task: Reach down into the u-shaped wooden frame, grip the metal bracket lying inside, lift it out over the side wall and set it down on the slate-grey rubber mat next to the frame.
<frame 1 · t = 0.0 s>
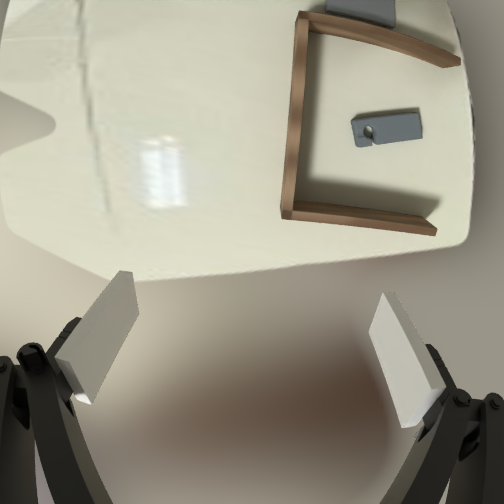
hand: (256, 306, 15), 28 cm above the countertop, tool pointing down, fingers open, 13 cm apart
bracket: (384, 128, 36), on the countertop
u-shaped wooden frame: (370, 124, 35), on the countertop
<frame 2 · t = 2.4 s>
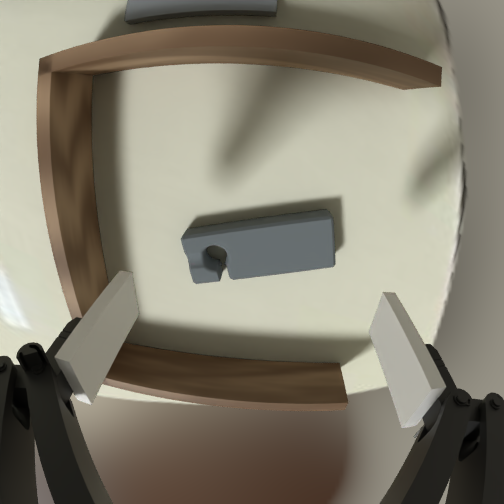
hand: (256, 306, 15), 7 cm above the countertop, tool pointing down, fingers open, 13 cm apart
bracket: (259, 240, 22), on the countertop
u-shaped wooden frame: (223, 238, 21), on the countertop
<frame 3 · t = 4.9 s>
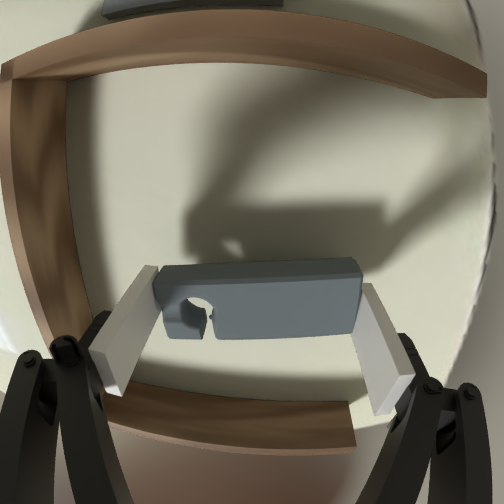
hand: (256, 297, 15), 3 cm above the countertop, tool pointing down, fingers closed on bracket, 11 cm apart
bracket: (258, 289, 16), point 2 cm above the countertop, touching gripper
u-shaped wooden frame: (219, 275, 18), on the countertop
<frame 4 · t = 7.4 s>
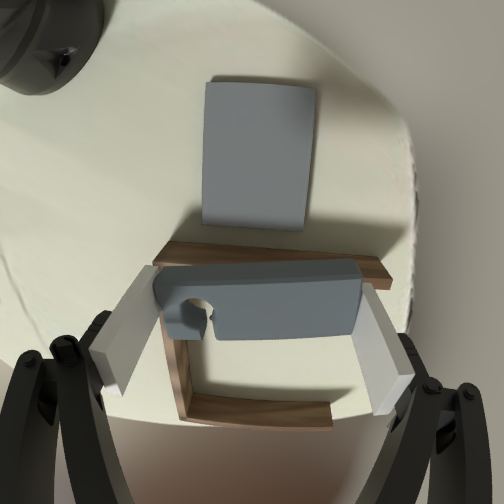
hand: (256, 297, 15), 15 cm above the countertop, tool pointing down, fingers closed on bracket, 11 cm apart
bracket: (259, 290, 16), point 14 cm above the countertop, touching gripper
slate mat: (256, 155, 27), on the countertop
u-shaped wooden frame: (264, 345, 36), on the countertop
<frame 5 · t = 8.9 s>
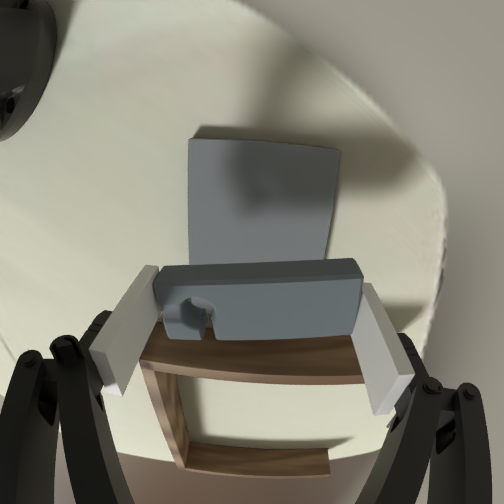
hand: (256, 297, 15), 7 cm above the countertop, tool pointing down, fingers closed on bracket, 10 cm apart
bracket: (259, 289, 16), point 7 cm above the countertop, touching gripper
slate mat: (257, 236, 22), on the countertop
u-shaped wooden frame: (263, 410, 32), on the countertop
when the fingers open (3 cm above the countertop, at t = 10.0 s): bracket drops 1 cm, resting on slate mat.
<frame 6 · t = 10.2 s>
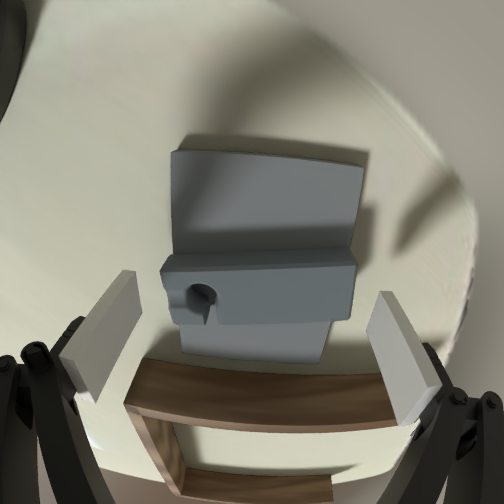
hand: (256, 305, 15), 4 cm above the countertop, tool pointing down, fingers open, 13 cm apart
bracket: (259, 277, 17), point 1 cm above the countertop, touching slate mat
slate mat: (258, 270, 18), on the countertop
u-shaped wooden frame: (263, 444, 28), on the countertop
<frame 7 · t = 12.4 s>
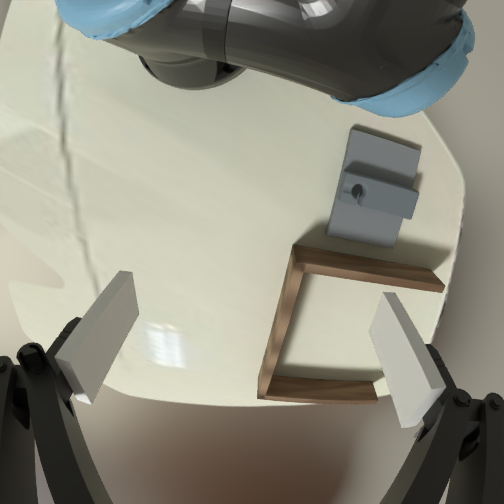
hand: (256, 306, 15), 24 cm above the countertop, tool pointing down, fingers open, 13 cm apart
bracket: (376, 192, 35), point 1 cm above the countertop, touching slate mat
slate mat: (373, 190, 35), on the countertop
u-shaped wooden frame: (341, 331, 45), on the countertop
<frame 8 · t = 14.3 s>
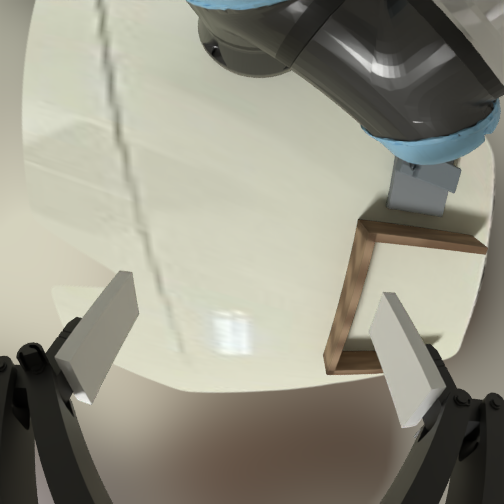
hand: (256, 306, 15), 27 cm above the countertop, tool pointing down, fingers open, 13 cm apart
bracket: (426, 167, 35), point 1 cm above the countertop, touching slate mat
slate mat: (423, 165, 36), on the countertop
u-shaped wooden frame: (400, 299, 46), on the countertop
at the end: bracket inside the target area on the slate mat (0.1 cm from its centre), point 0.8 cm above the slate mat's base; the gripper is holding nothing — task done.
